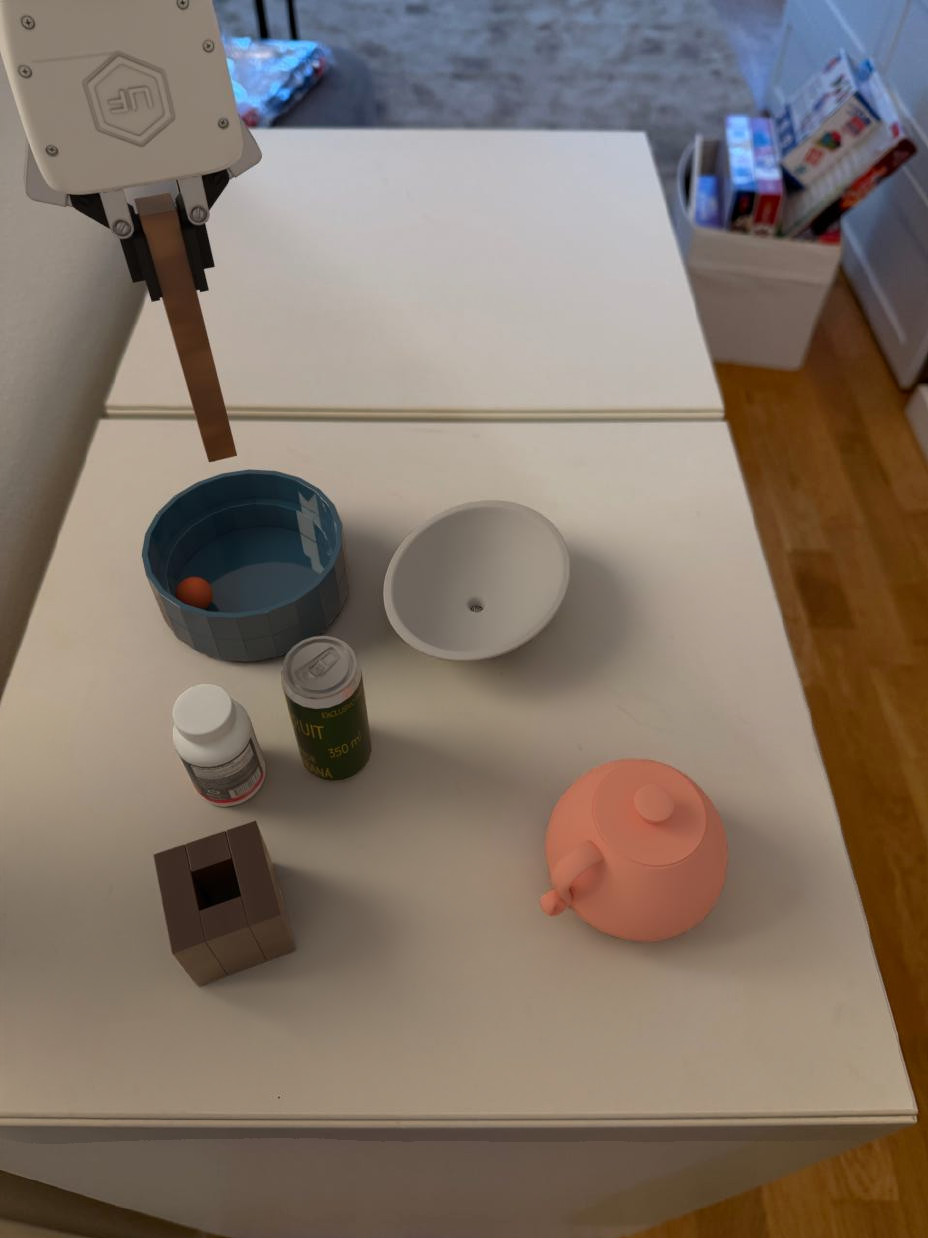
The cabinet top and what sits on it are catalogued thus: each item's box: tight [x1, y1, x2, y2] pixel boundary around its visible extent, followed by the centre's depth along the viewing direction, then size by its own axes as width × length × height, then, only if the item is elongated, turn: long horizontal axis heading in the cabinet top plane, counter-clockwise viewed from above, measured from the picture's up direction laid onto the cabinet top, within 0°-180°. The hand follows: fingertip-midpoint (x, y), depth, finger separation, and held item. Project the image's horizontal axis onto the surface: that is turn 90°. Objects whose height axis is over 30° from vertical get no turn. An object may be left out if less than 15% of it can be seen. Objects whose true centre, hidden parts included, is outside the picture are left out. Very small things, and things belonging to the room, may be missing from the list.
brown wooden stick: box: [133, 192, 238, 463], centre depth 58 cm, size 2×2×18 cm
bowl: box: [141, 468, 350, 662], centre depth 77 cm, size 16×16×6 cm
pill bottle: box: [171, 683, 267, 808], centre depth 65 cm, size 5×5×10 cm
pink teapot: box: [539, 758, 729, 942], centre depth 61 cm, size 12×14×10 cm
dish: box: [382, 499, 572, 663], centre depth 77 cm, size 18×14×5 cm
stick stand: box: [152, 820, 297, 988], centre depth 60 cm, size 7×7×7 cm
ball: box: [176, 577, 213, 610], centre depth 77 cm, size 3×3×3 cm
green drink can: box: [280, 635, 373, 783], centre depth 66 cm, size 5×5×12 cm
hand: (175, 281), depth 54 cm, fingers closed on brown wooden stick, 2 cm apart
